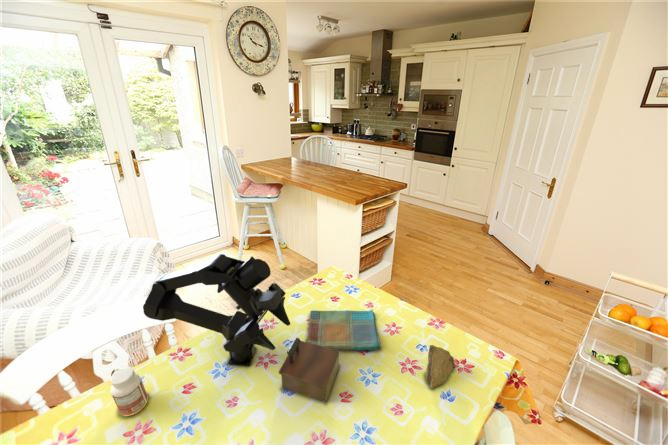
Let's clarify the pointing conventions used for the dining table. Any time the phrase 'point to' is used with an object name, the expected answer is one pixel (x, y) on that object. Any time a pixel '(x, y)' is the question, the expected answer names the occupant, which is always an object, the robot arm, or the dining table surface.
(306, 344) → the lid
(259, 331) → the robot arm
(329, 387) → the brown wooden box
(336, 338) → the dish towel
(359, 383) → the dining table surface
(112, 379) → the pill bottle
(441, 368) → the rock
